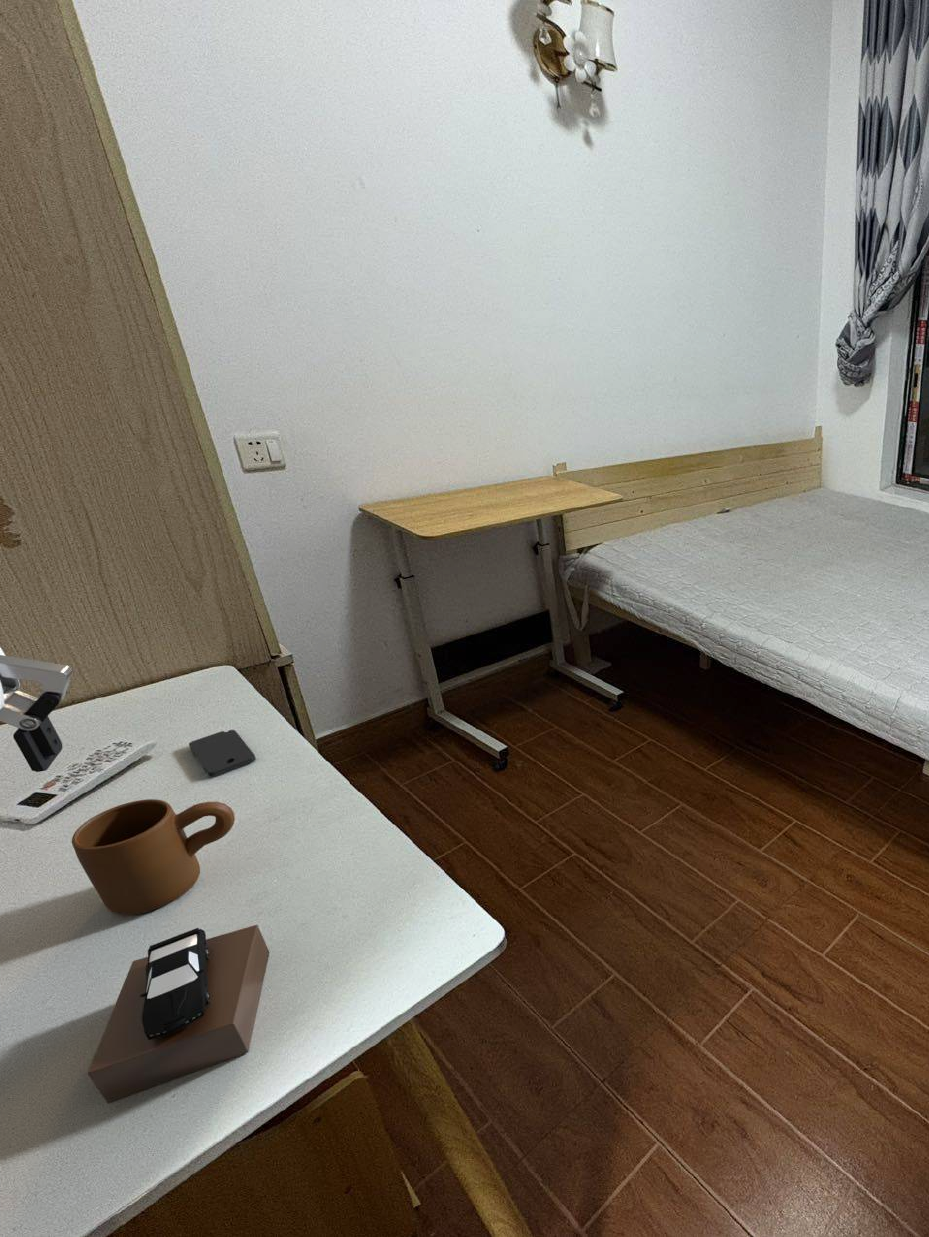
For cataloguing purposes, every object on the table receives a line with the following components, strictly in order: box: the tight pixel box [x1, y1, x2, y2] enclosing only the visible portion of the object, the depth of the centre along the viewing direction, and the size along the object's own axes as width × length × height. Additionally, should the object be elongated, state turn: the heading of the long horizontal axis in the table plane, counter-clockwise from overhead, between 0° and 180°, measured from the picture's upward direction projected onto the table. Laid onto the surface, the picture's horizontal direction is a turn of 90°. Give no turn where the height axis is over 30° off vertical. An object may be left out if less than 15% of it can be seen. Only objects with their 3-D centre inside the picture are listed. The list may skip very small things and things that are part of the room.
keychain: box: [188, 729, 257, 778], centre depth 92 cm, size 5×1×10 cm
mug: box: [71, 798, 236, 916], centre depth 71 cm, size 12×8×9 cm, turn 124°
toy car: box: [140, 927, 211, 1040], centre depth 58 cm, size 10×4×3 cm, turn 40°
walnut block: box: [86, 924, 270, 1104], centre depth 59 cm, size 9×11×4 cm
